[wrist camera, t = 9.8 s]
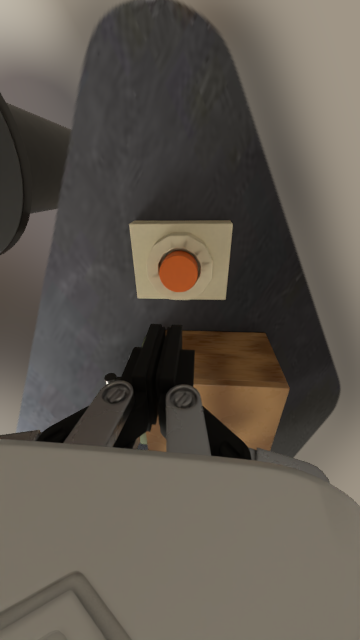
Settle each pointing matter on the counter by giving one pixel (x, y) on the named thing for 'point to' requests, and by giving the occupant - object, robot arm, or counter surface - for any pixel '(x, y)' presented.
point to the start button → (178, 271)
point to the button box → (192, 237)
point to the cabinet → (235, 385)
